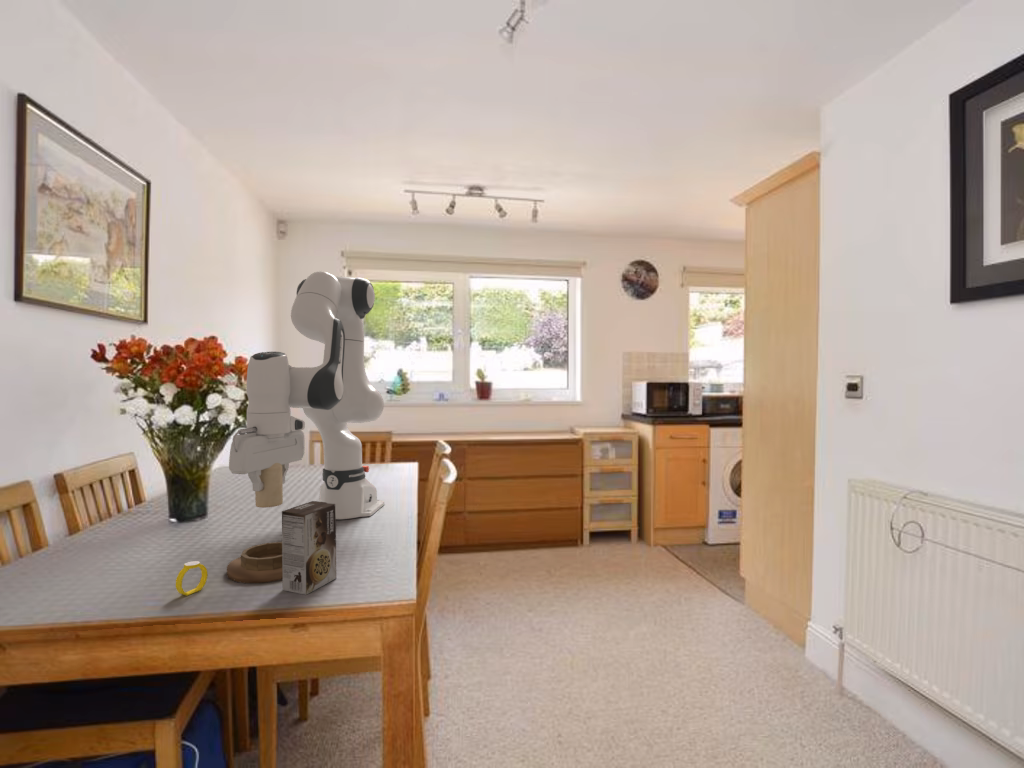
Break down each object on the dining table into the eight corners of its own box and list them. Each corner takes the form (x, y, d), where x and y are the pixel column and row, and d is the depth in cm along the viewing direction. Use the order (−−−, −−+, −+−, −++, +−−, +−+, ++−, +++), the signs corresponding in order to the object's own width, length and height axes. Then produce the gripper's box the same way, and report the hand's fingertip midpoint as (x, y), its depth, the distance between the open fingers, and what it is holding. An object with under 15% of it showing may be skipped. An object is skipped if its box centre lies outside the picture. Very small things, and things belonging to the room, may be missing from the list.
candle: (249, 507, 116) (249, 461, 116) (266, 501, 122) (265, 457, 122) (272, 508, 115) (271, 462, 115) (288, 502, 121) (287, 458, 121)
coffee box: (313, 574, 115) (312, 500, 115) (337, 578, 113) (337, 503, 113) (280, 590, 107) (280, 510, 107) (306, 595, 105) (305, 513, 104)
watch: (199, 587, 109) (201, 558, 109) (209, 589, 108) (211, 559, 108) (172, 597, 103) (173, 565, 104) (182, 599, 103) (184, 567, 103)
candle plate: (264, 552, 129) (263, 535, 129) (326, 558, 125) (325, 541, 125) (207, 578, 113) (207, 559, 113) (277, 587, 109) (276, 567, 109)
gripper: (246, 430, 107) (247, 498, 108) (309, 421, 127) (309, 479, 127) (220, 429, 109) (221, 497, 109) (286, 420, 129) (286, 477, 129)
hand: (269, 487), depth 119 cm, fingers closed on candle, 5 cm apart
